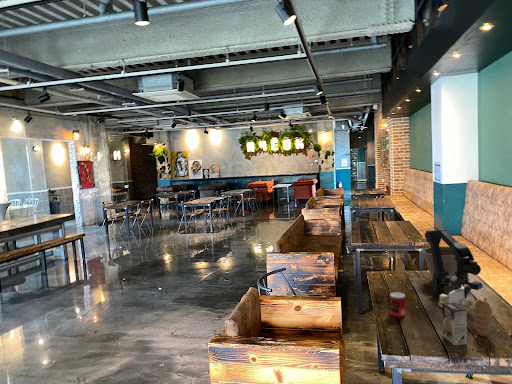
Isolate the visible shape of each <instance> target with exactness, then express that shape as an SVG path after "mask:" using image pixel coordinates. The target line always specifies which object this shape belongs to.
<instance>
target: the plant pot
mask: <svg viewBox="0 0 512 384" xmlns="http://www.w3.org/2000/svg"><path fill="white" fill-rule="evenodd" d="M440 251H441V257H442V262H443V267H444V270H445V271H446V272H448V273H449V276H454V275H455V272H456V260H454V258H455V256H454V254H453V253H452V249H451V248H450V247H449V246H440ZM422 258H423V259H424V260H425V263H426V267H427V269H428V273H429V276H430V278H431V280H432V279H433V273H434V270H435V268H434V263H433V258H432V252H431V247H425V248H423V250H422ZM464 258H467V257H464ZM447 287H448V288H450V287H451V288H452V287H453V286H452V285H451V281H450V283H449V284H448V286H446V288H447Z"/></svg>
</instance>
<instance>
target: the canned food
mask: <svg viewBox="0 0 512 384" xmlns="http://www.w3.org/2000/svg"><path fill="white" fill-rule="evenodd" d="M389 305H390V306H389V307H390V309H389V310H390V315H391V316H392V317H395V318H404V317H406V314H407V313H406V312H407V311H406V295H405V293H402V292H399V291H395V292H391V293H389Z"/></svg>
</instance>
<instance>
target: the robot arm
mask: <svg viewBox="0 0 512 384" xmlns="http://www.w3.org/2000/svg"><path fill="white" fill-rule="evenodd" d="M424 238H425V241H426V242H427V243H428V245H429V246H430V247H431V252H432V258H433V263H434V268H435V270H434V273H433V279H431V280H430V281H429V285H430V286H431V287H432V294H431V297H435V298H439V299H440V295H441V294H445V295H448V293H447V292H448V291H447V289H446V288H447V287H446V286H448V284H449V283H450V281H451V285H452V286H451V287H453V288H454V289H455V290H456V289H458V288H461V287H462V286H463V287H464V289H465V299H466V298H467V297H468V298H469V294H470V292H471V290H475V291H479V290H481V289H483V286H484V284H483V283H482V282H480V281H476V280H475V281H472V282H470V278H469V274H471V275H474V276H477V275H479V274H480V273H481V271H482V268H481V266H480V265H479V264H478V261H475V258H474V255H473V254H472V252H471V249H470V248H469V247H468V246H467V245H465V244H463V243H460V242H458V240H456V239H455V238H454V237H453V236H452V235H451V234H450V233H449V232H448V231H447V229H445V228H438V229H431V230H426V231H425V233H424ZM441 241H443V242H444V243H445V244H446V245H447V247H450V248H451V249H452V253H453V254H454V256H455V258H454V260H456V272H455V275H454V276H449V273H448V272H446V271H445V270H444V267H443V262H442V257H441V251H440V247H441V246H440V243H441ZM464 257H466V258H464Z"/></svg>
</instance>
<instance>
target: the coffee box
mask: <svg viewBox="0 0 512 384" xmlns="http://www.w3.org/2000/svg"><path fill="white" fill-rule="evenodd" d="M442 306H443V307H442V337H443V338H445V339H446V340H447V341H448V342H449V343H451V344H452V345H453V346H460V345H461V346H463V345H468V332H467V331H468V328H467V327H468V325H467V323H468V322H467V319H468V318H467V317H468V316H467V315H468V314H467V310H466V309H465V308H463V307H462V306H460V305H458V304H457V303H455V302H453V303H442Z"/></svg>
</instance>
